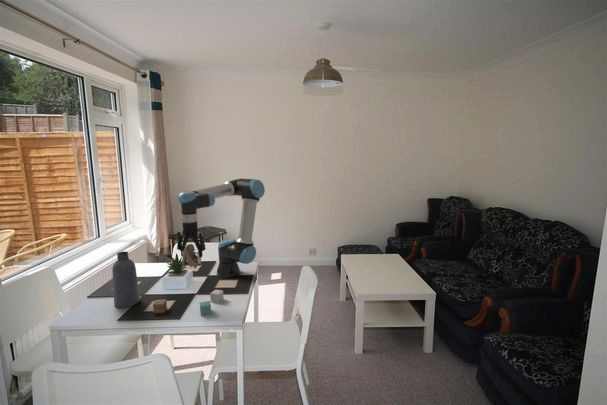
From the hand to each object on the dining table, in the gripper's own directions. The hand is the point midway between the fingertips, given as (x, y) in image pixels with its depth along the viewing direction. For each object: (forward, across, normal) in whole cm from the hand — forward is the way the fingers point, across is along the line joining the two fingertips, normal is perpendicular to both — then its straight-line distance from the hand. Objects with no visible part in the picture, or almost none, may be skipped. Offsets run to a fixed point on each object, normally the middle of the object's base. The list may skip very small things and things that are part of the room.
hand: (192, 262), depth 176 cm
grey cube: (+22, +12, +3) cm, 25 cm away
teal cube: (+22, +12, -11) cm, 28 cm away
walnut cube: (+22, -12, -13) cm, 28 cm away
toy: (+3, 0, 0) cm, 3 cm away
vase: (+22, -35, -8) cm, 42 cm away
